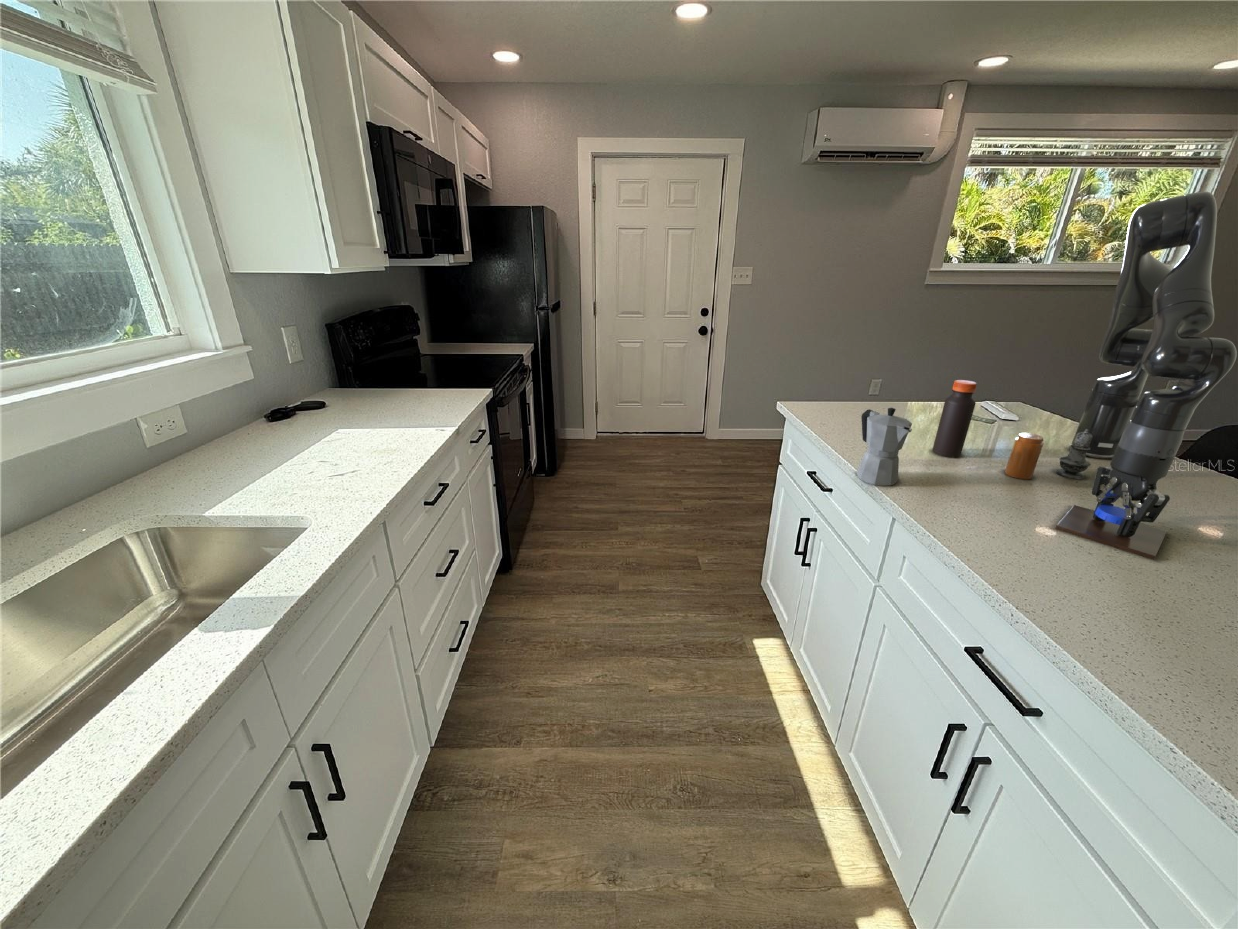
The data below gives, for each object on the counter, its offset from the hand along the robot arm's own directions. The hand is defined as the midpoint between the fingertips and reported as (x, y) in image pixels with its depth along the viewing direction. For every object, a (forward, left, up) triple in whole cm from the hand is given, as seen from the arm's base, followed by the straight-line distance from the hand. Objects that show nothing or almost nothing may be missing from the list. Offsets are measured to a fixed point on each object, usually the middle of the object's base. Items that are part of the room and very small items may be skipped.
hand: (1111, 527), depth 96 cm
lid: (0, 0, +3) cm, 3 cm away
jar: (-19, -20, -1) cm, 28 cm away
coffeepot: (+10, -42, -1) cm, 43 cm away
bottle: (-21, -37, -1) cm, 43 cm away
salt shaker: (-29, -12, -1) cm, 31 cm away
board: (0, 0, -1) cm, 1 cm away
